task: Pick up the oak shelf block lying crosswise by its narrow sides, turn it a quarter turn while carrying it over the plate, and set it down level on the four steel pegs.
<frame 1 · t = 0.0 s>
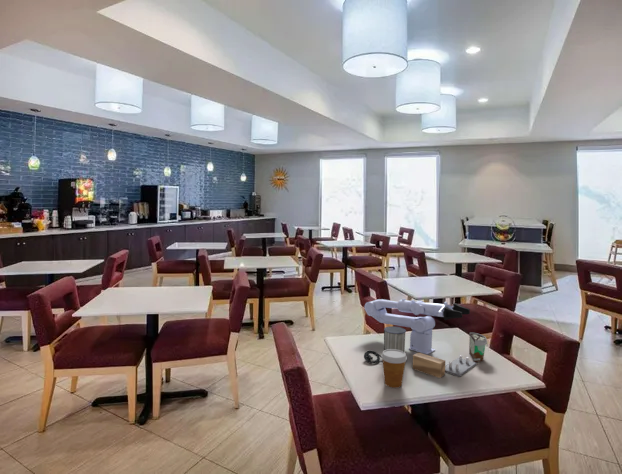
hand: (465, 313, 166), 22 cm above the table, tool horizontal, fingers open, 7 cm apart
disposable coffee cup: (393, 384, 147), on the table
shelf block: (428, 372, 158), on the table
food container: (478, 359, 172), on the table
peg plate: (458, 367, 162), on the table
milk frother: (384, 362, 167), on the table
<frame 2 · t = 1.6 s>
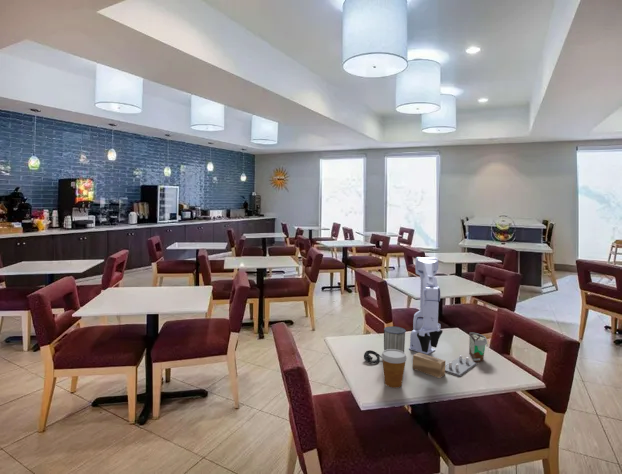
hand: (429, 349, 157), 9 cm above the table, tool pointing down, fingers open, 7 cm apart
nothing on the table moved.
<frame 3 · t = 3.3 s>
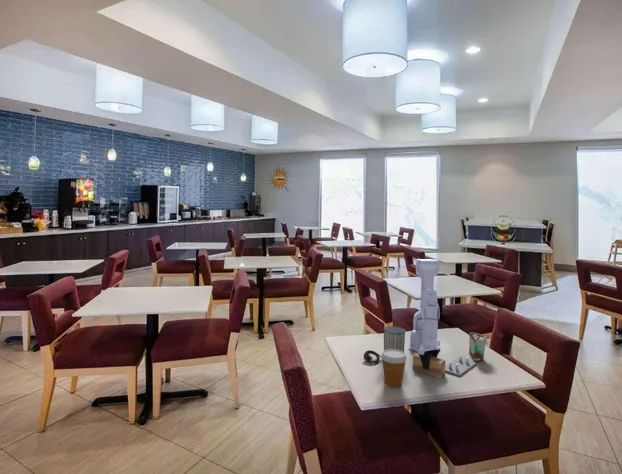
hand: (428, 367, 158), 2 cm above the table, tool pointing down, fingers closed on shelf block, 4 cm apart
shelf block: (428, 371, 158), on the table, touching gripper
everything else where it was.
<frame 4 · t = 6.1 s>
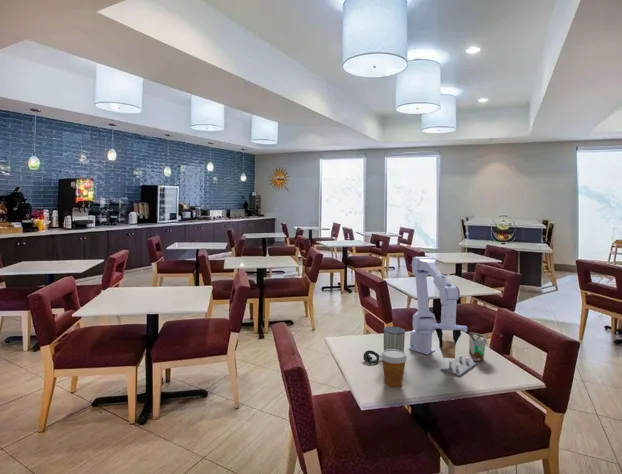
hand: (447, 347, 160), 9 cm above the table, tool pointing down, fingers closed on shelf block, 4 cm apart
shelf block: (446, 352, 160), point 7 cm above the table, touching gripper
everything else where it was.
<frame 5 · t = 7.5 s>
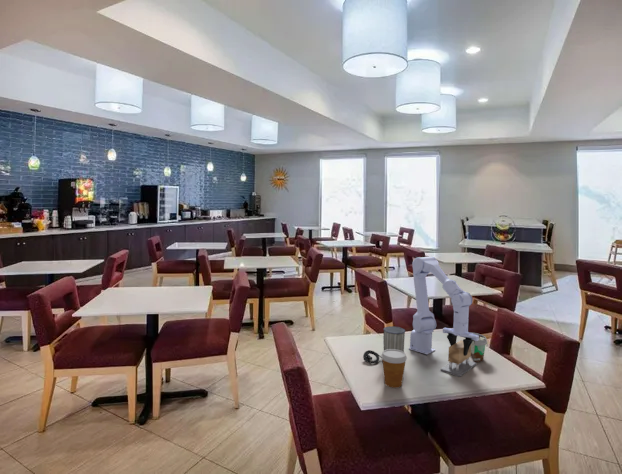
hand: (459, 353, 162), 6 cm above the table, tool pointing down, fingers closed on shelf block, 4 cm apart
shelf block: (459, 358, 162), point 4 cm above the table, touching gripper
everything else where it was.
when the fingers open (6 cm above the table, at t = 8.8 s): shelf block stays where it is, resting on peg plate.
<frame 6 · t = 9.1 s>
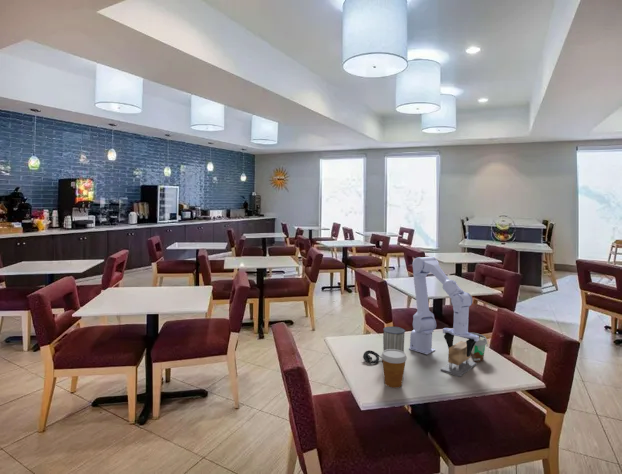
hand: (459, 353, 162), 6 cm above the table, tool pointing down, fingers open, 7 cm apart
shelf block: (459, 359, 162), point 3 cm above the table, touching peg plate
everything else where it was.
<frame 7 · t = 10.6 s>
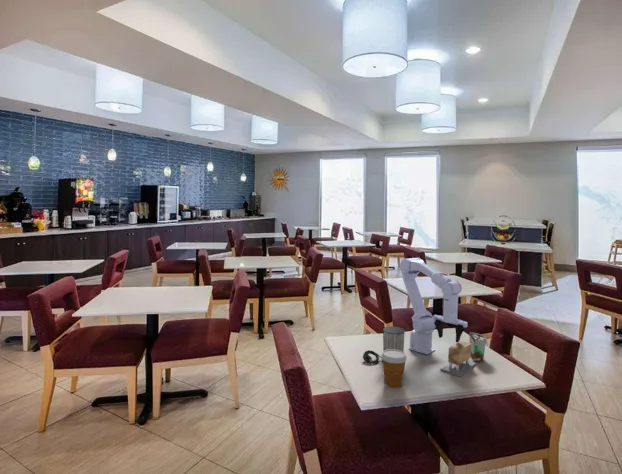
hand: (448, 339, 168), 10 cm above the table, tool pointing down, fingers open, 7 cm apart
nothing on the table moved.
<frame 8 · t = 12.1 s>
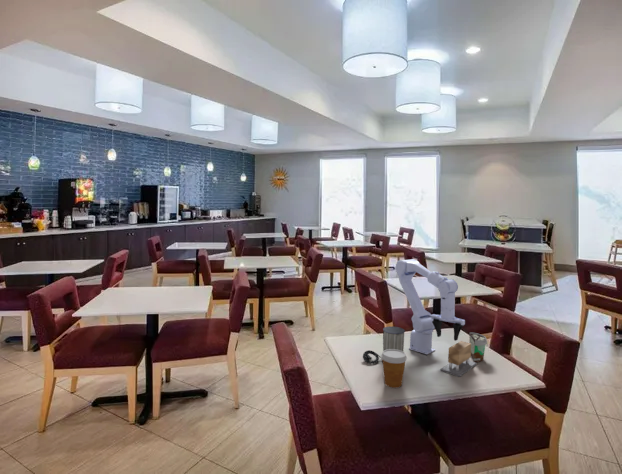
hand: (447, 338, 169), 10 cm above the table, tool pointing down, fingers open, 7 cm apart
nothing on the table moved.
at the end: shelf block 0.4 cm off-centre on the peg plate, point 3.3 cm above the peg plate's base; shelf block tilted 0°; the gripper is holding nothing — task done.
